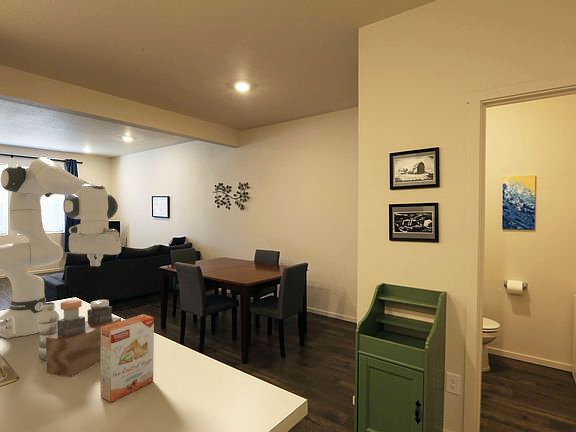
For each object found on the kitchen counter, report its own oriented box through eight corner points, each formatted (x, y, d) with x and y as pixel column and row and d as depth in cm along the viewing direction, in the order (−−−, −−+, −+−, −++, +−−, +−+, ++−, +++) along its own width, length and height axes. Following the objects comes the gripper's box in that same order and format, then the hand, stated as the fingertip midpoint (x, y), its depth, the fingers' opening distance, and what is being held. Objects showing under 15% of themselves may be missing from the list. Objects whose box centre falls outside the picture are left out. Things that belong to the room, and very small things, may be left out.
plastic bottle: (49, 363, 116) (48, 306, 116) (33, 361, 117) (32, 305, 117) (64, 355, 122) (64, 301, 122) (49, 353, 124) (48, 300, 123)
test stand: (46, 373, 109) (45, 322, 109) (100, 345, 131) (99, 303, 130) (70, 377, 107) (70, 325, 106) (121, 348, 128) (120, 305, 128)
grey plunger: (86, 320, 122) (86, 303, 122) (99, 315, 128) (99, 299, 128) (100, 322, 120) (99, 304, 120) (112, 317, 126) (112, 300, 126)
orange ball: (56, 323, 110) (56, 304, 110) (72, 317, 116) (72, 299, 116) (70, 324, 109) (70, 305, 109) (86, 318, 115) (85, 300, 114)
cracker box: (111, 404, 92) (110, 330, 92) (99, 397, 96) (98, 326, 95) (155, 381, 104) (154, 316, 104) (143, 376, 108) (142, 313, 107)
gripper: (125, 228, 122) (125, 265, 122) (79, 227, 127) (80, 263, 127) (112, 229, 116) (112, 268, 116) (65, 228, 121) (65, 266, 121)
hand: (95, 265), depth 122 cm, fingers closed
